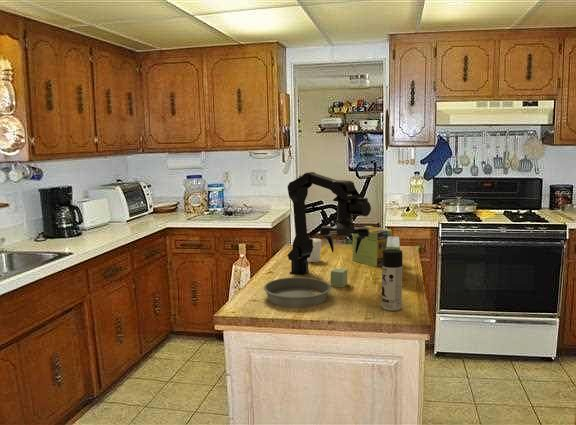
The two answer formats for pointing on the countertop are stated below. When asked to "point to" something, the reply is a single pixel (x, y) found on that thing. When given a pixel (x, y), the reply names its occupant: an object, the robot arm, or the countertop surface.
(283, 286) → the cake pan
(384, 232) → the protein box
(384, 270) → the spray can
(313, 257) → the white cup
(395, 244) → the snack box
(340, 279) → the olive block
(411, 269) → the countertop surface
